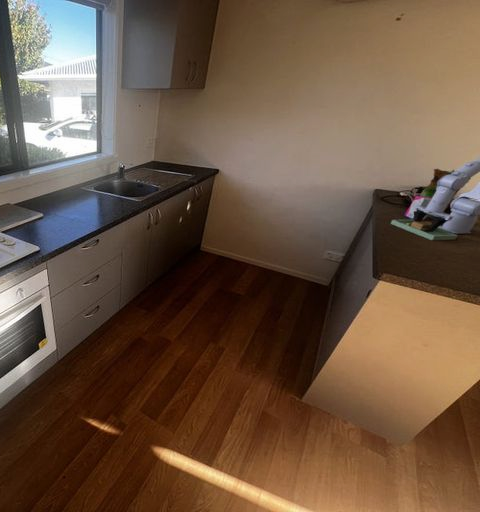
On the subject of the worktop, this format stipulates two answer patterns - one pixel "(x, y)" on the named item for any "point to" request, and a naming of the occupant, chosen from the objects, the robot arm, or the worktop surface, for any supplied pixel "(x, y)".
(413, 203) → the supplement box
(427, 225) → the eraser
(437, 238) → the tray
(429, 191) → the pouch
